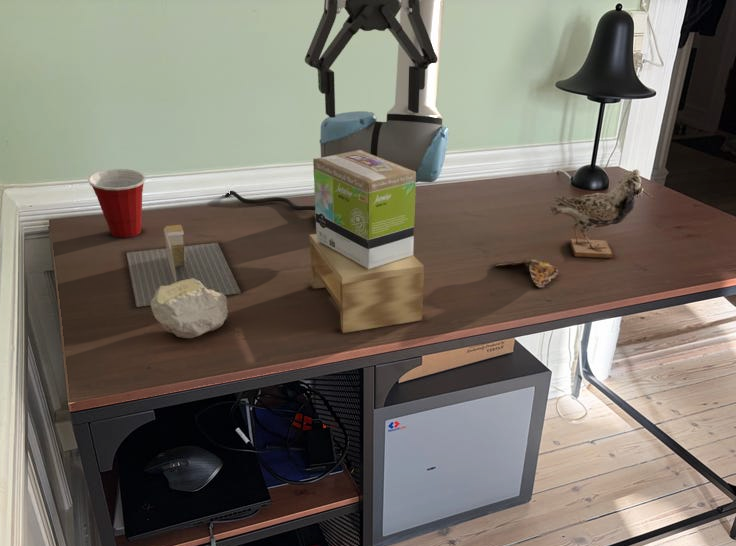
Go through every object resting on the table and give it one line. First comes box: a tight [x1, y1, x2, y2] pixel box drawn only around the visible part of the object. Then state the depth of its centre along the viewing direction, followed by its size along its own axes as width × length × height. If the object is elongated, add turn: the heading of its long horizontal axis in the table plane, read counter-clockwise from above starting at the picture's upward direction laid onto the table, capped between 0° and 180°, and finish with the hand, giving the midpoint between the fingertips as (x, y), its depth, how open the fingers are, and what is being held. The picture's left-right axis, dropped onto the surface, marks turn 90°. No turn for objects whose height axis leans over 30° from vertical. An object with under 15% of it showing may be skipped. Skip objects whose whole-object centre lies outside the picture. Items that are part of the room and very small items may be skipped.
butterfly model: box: [495, 258, 560, 288], centre depth 143 cm, size 9×12×3 cm
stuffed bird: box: [548, 169, 653, 259], centre depth 151 cm, size 10×20×17 cm, turn 107°
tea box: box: [312, 150, 416, 269], centre depth 121 cm, size 15×10×15 cm, turn 42°
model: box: [163, 224, 187, 281], centre depth 136 cm, size 3×11×8 cm, turn 23°
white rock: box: [149, 278, 229, 339], centre depth 117 cm, size 12×8×10 cm
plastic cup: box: [87, 168, 147, 238], centre depth 150 cm, size 11×11×12 cm
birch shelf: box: [308, 233, 425, 334], centre depth 127 cm, size 14×19×10 cm
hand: (372, 113), depth 115 cm, fingers open, 13 cm apart
